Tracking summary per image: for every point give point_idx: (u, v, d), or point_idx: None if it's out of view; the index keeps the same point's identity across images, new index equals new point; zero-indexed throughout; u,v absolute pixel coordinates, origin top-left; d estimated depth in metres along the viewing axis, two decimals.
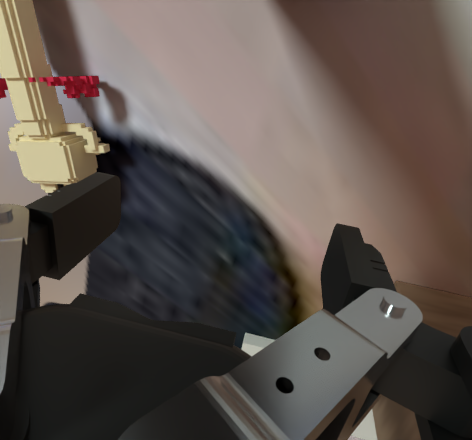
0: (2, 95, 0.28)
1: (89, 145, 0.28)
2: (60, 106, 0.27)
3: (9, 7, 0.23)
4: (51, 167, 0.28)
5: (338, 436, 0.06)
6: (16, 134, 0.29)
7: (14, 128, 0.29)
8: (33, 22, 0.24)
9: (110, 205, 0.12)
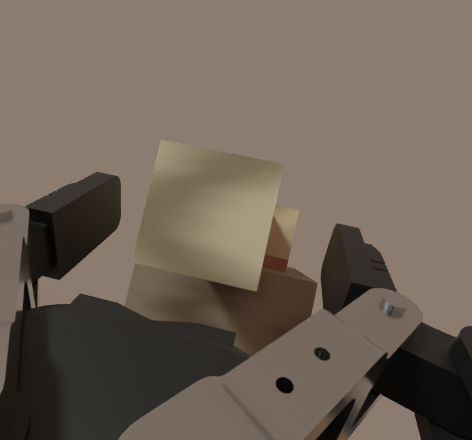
0: None
1: None
2: None
3: None
4: None
5: (338, 436, 0.06)
6: None
7: None
8: None
9: (110, 206, 0.12)
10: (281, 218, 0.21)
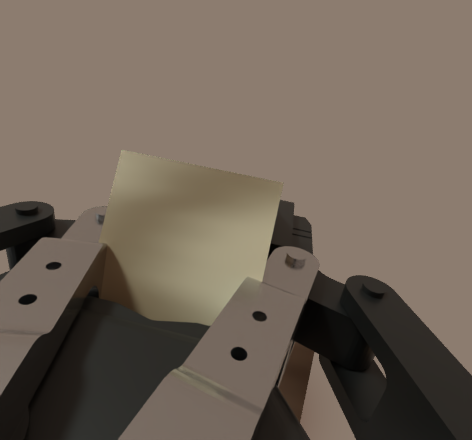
0: None
1: None
2: None
3: None
4: None
5: (278, 381, 0.07)
6: None
7: None
8: None
9: None
10: None
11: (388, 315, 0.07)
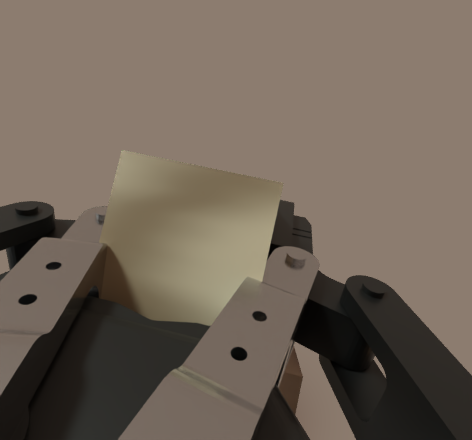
0: None
1: None
2: None
3: None
4: None
5: (278, 381, 0.07)
6: None
7: None
8: None
9: None
10: None
11: (388, 315, 0.07)
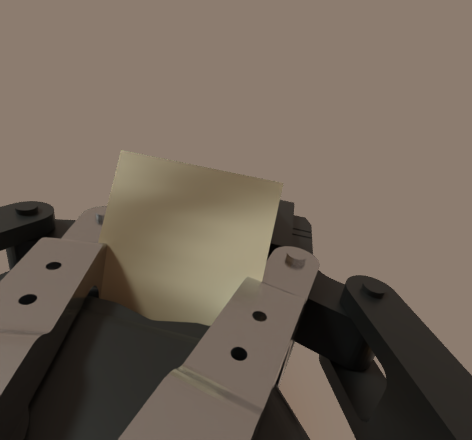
0: None
1: None
2: None
3: None
4: None
5: (278, 381, 0.07)
6: None
7: None
8: None
9: None
10: None
11: (388, 315, 0.07)
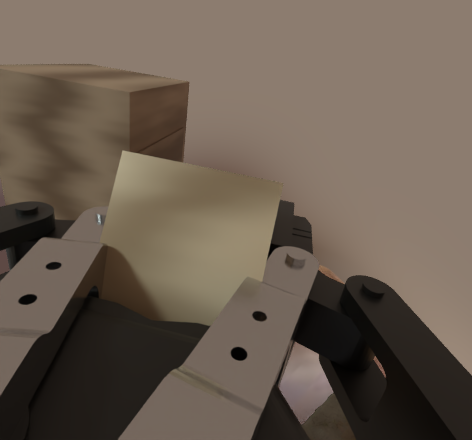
0: None
1: None
2: None
3: None
4: None
5: (278, 381, 0.07)
6: None
7: None
8: None
9: None
10: None
11: (388, 315, 0.07)
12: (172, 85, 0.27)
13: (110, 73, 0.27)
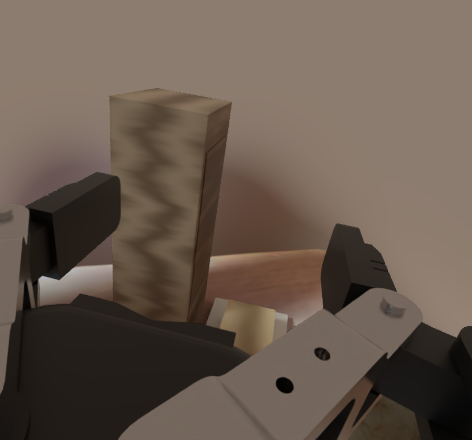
0: None
1: None
2: None
3: None
4: None
5: (338, 436, 0.06)
6: None
7: None
8: None
9: (110, 206, 0.12)
10: None
11: None
12: (224, 106, 0.38)
13: (180, 97, 0.39)
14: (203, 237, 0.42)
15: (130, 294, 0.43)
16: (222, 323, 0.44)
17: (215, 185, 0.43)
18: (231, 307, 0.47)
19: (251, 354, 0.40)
